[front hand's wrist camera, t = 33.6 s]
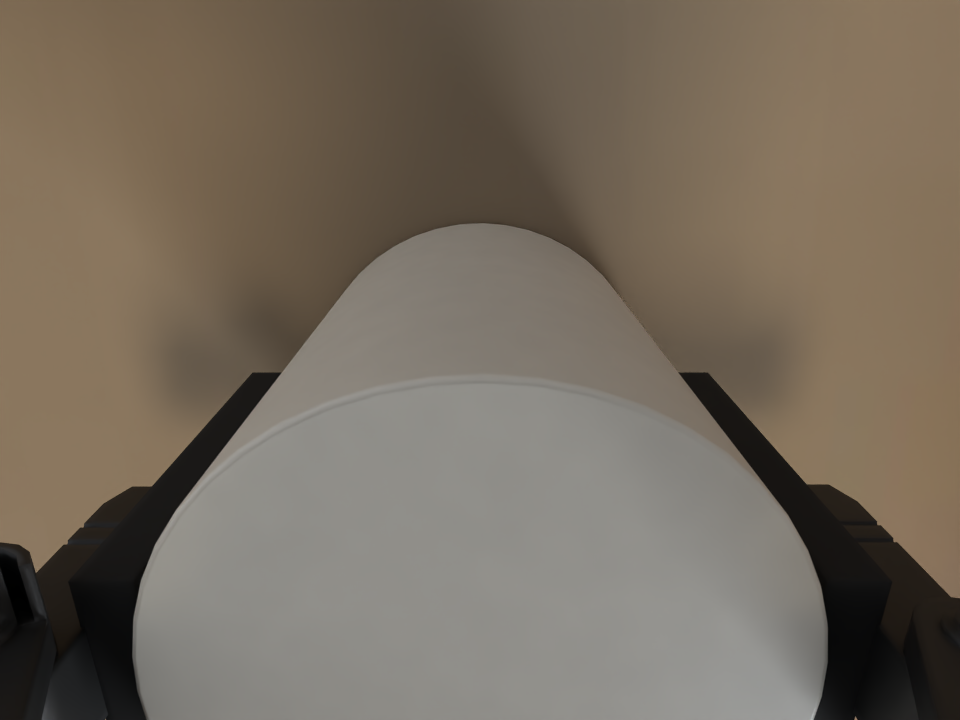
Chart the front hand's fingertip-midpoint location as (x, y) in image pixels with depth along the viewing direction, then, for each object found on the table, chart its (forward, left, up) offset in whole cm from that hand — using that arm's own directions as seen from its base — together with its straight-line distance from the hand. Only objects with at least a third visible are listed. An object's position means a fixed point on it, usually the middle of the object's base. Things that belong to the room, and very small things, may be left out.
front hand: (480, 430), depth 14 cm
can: (0, 0, -2) cm, 2 cm away
